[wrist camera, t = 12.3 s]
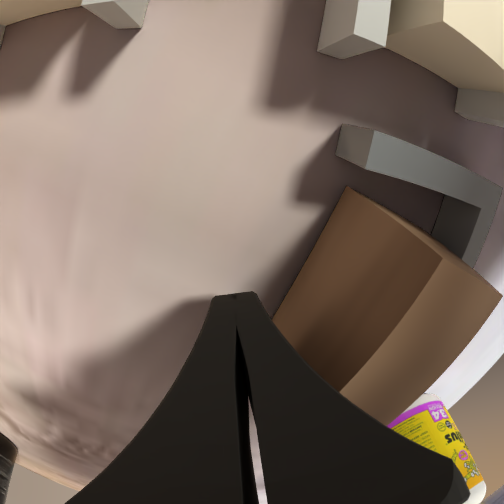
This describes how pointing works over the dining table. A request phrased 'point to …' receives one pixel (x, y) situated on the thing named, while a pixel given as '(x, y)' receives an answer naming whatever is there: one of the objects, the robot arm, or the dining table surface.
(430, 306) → the block
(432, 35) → the rack
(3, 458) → the supplement bottle
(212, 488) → the robot arm
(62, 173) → the dining table surface
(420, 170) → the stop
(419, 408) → the supplement bottle
